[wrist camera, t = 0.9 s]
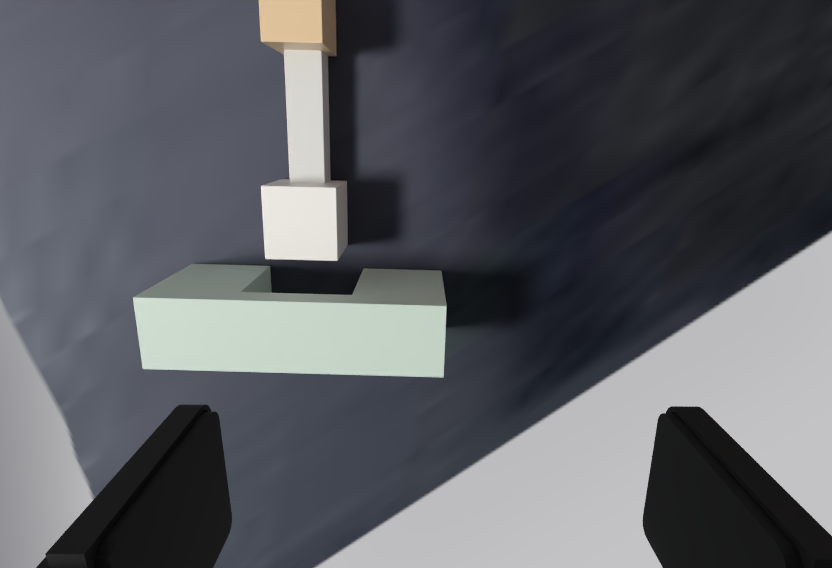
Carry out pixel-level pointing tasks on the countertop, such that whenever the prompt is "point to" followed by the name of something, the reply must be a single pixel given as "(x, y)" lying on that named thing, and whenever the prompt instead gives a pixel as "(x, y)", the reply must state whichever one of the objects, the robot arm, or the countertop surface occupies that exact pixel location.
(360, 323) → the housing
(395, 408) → the countertop surface
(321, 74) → the plug
